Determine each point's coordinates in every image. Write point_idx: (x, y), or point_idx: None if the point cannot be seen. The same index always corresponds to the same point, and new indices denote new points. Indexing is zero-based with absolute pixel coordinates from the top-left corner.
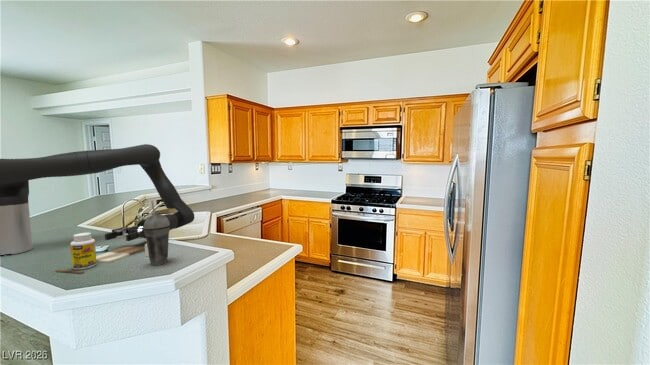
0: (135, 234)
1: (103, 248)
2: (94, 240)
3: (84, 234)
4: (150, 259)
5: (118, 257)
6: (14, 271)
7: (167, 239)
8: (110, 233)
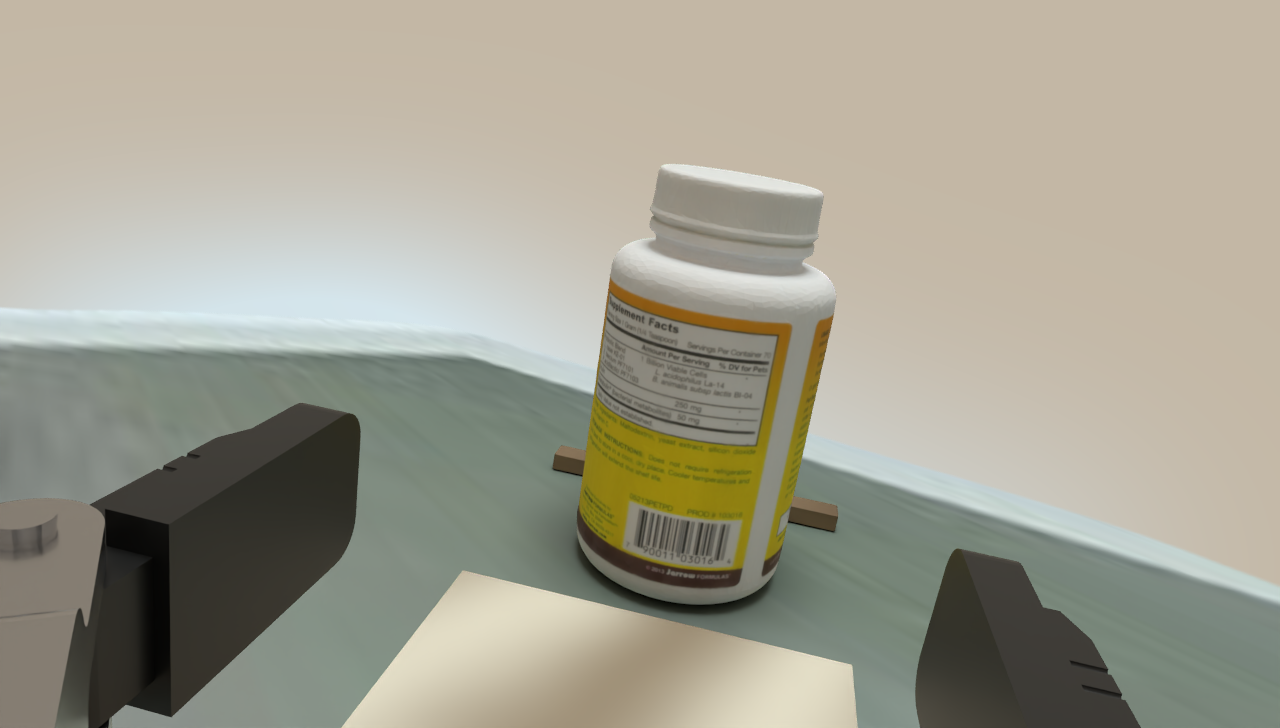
0: (141, 481)
1: None
2: (625, 268)
3: (701, 170)
4: None
5: (411, 651)
6: (1234, 588)
7: None
8: (970, 606)
